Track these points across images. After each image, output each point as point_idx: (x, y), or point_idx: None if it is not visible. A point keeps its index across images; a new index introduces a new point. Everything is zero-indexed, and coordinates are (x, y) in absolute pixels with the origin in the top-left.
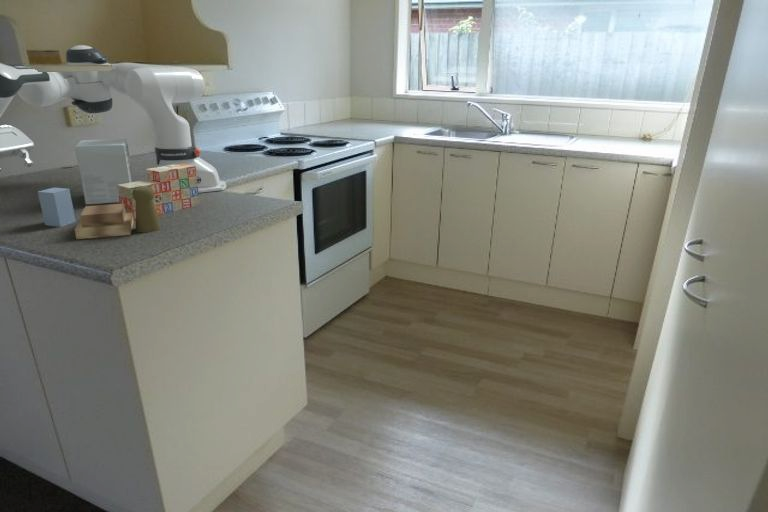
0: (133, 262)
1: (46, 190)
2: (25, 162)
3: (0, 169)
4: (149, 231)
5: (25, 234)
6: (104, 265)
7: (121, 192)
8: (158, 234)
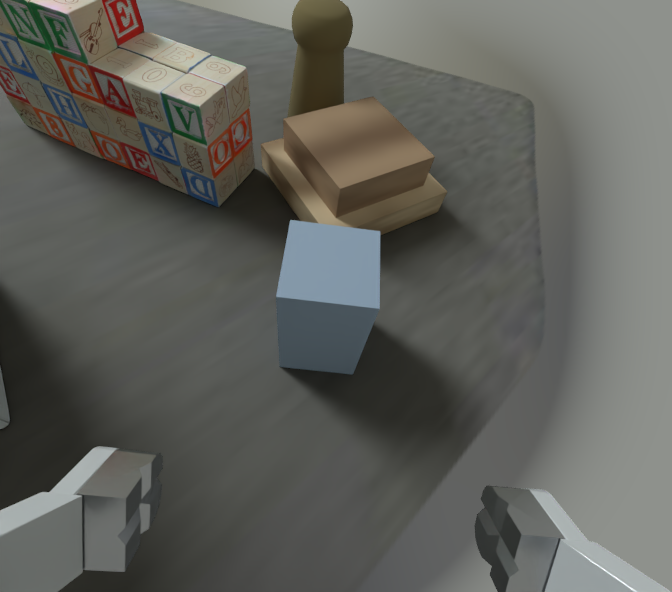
0: (493, 89)
1: (344, 287)
2: (141, 498)
3: (495, 486)
4: None
5: (458, 361)
6: (525, 114)
7: (218, 119)
8: (348, 99)
